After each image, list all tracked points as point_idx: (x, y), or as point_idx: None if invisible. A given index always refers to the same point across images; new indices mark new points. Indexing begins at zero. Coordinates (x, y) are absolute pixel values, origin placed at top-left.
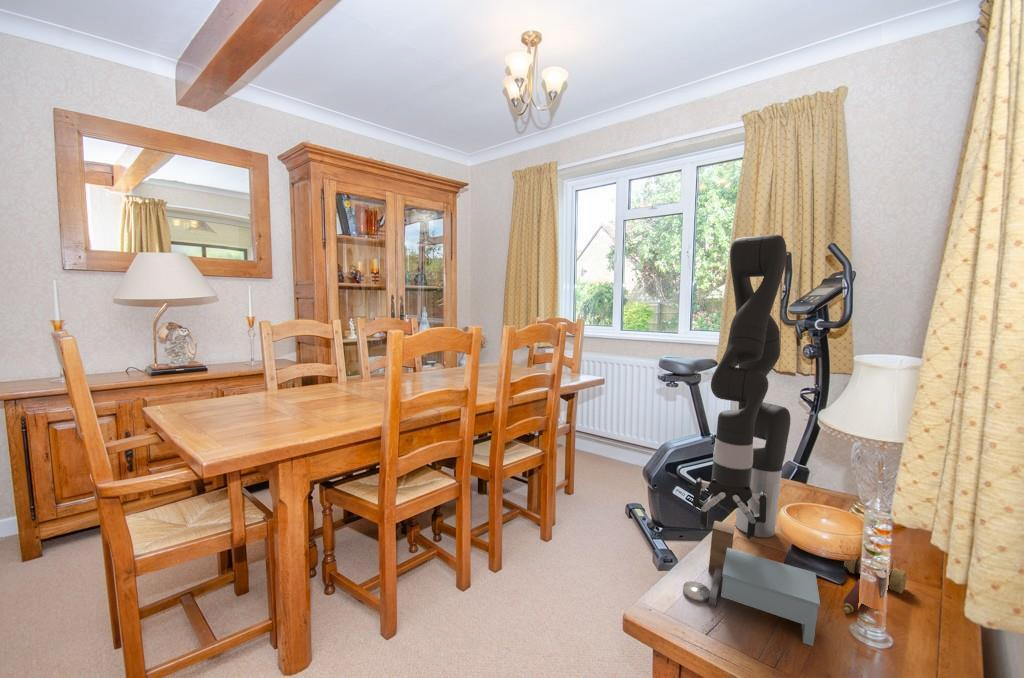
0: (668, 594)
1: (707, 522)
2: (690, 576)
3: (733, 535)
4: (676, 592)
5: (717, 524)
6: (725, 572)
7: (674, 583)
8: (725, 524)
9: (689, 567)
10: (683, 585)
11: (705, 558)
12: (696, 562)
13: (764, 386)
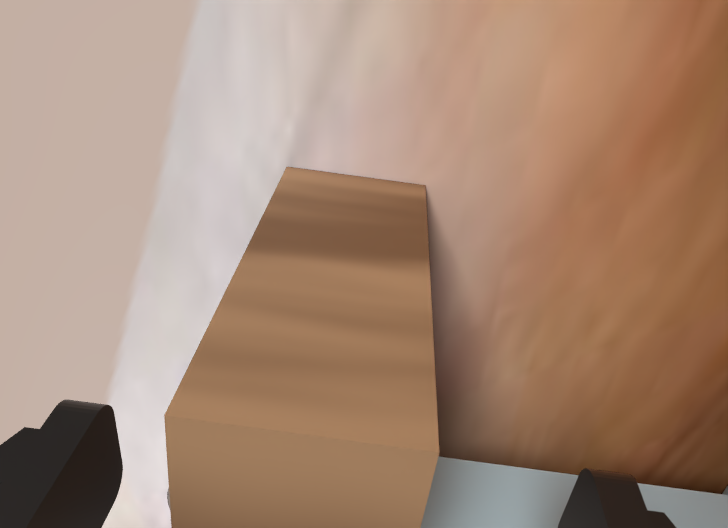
0: (127, 518)
1: (91, 480)
2: (187, 368)
3: (432, 365)
4: (154, 498)
5: (214, 497)
6: None
7: (127, 447)
8: (315, 461)
9: (163, 286)
10: (168, 501)
11: (245, 124)
12: (193, 210)
13: None
